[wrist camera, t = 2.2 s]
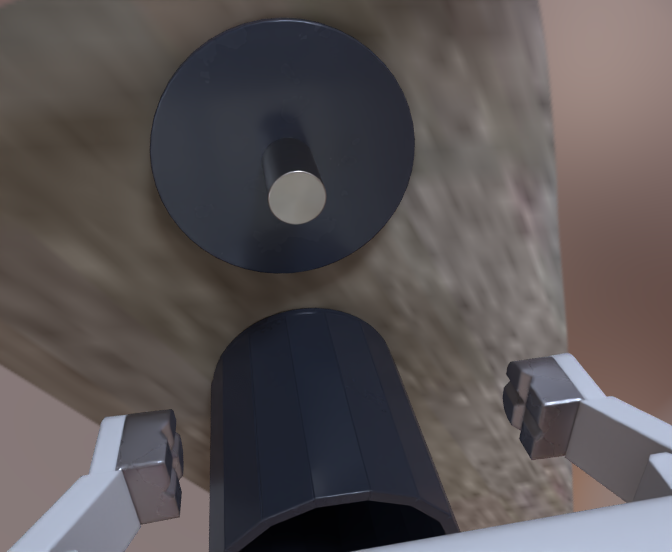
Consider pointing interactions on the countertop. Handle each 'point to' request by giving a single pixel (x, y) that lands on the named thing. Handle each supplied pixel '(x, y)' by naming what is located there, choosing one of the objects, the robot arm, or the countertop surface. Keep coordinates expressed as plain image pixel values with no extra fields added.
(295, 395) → the canister
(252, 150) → the lid
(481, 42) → the countertop surface
